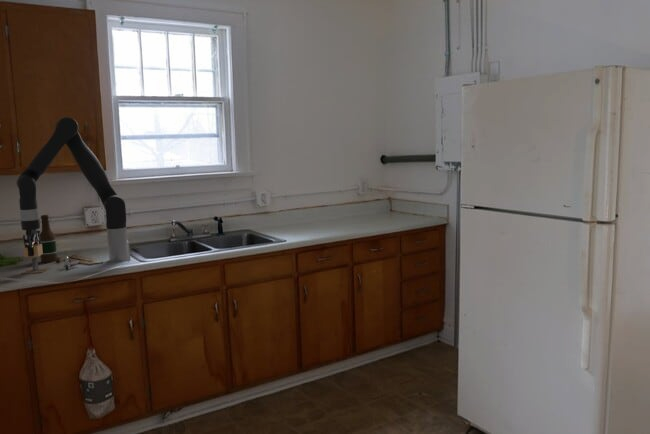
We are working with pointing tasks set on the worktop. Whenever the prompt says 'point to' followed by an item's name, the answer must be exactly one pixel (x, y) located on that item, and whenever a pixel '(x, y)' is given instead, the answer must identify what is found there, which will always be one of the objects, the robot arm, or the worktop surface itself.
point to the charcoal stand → (67, 265)
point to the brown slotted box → (36, 248)
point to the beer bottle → (47, 242)
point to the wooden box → (35, 268)
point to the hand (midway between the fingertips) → (33, 254)
